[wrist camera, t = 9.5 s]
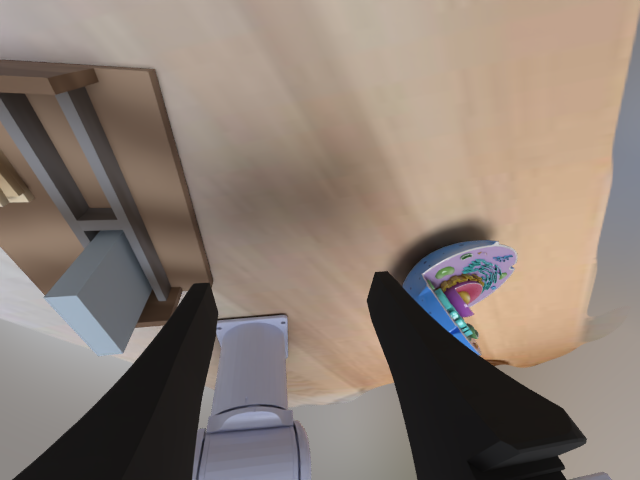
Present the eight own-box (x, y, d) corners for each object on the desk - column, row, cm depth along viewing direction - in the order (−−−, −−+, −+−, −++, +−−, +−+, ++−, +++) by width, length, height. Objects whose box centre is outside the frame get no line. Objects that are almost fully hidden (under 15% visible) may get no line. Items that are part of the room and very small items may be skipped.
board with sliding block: (213, 281, 25) (203, 321, 21) (56, 290, 22) (18, 337, 19) (154, 69, 14) (117, 81, 11) (-150, 50, 12) (-322, 57, 8)
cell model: (501, 252, 29) (581, 329, 21) (408, 305, 32) (448, 386, 25) (474, 197, 23) (570, 274, 16) (365, 268, 27) (401, 358, 20)
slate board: (156, 281, 22) (123, 353, 17) (136, 282, 22) (97, 355, 17) (128, 224, 18) (76, 295, 13) (105, 224, 18) (43, 297, 13)
